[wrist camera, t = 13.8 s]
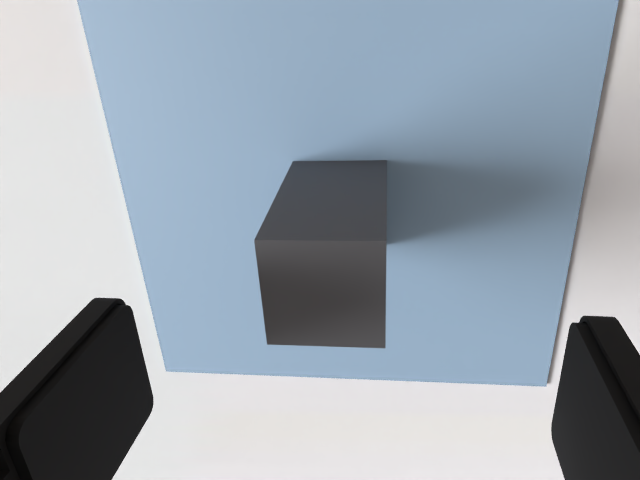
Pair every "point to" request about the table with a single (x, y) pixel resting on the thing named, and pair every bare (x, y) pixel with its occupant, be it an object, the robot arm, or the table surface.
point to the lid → (353, 178)
